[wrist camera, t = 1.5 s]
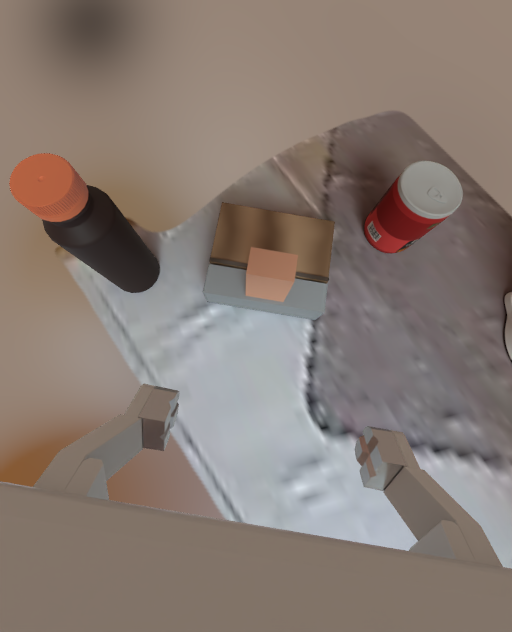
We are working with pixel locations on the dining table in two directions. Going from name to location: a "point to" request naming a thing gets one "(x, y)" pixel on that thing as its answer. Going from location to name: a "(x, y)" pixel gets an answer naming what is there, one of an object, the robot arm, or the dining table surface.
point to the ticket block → (273, 239)
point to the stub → (266, 286)
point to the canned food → (413, 206)
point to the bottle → (84, 221)
